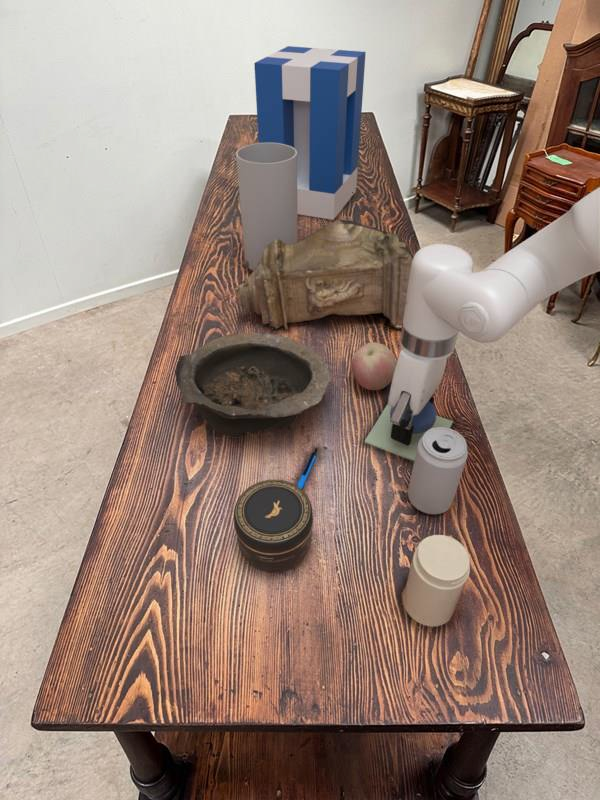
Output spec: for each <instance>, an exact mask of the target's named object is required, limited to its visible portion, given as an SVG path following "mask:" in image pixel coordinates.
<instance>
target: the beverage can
mask: <svg viewBox="0 0 600 800" xmlns="http://www.w3.org/2000/svg"><path fill="white" fill-rule="evenodd" d="M468 456H469V451H468V443H467V441H466V439H465V437H464V436H463V435H462V434H461V433H459V432H458V431H457V430H454V429H452V428H451V427H450V428H445V427H436V428H432V429H430V430H428V431H427V432H425V434H424V435H423V437H422V438H421V439H420V440H419V443H418V447H417V452H416V456H415V461H413V466H412V469H411V470H412V471H411V474H410V478H409V483H408V488H407V497H408V500H409V502H410V503H411V505H412V506H413V507H414V508H415V509H416V510H418V511H420V512H422V513H425V514H428V515H441V514H444V513H445V512H447V511H448V510H449V509H451V507H452V505H453V502H454V501H455V496H456V494H457V491H458V487H459V484H460V482H461V478H462V474H463V472H464V469H465V466H466V462H467V459H468Z"/></svg>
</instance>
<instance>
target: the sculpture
mask: <svg viewBox="0 0 600 800" xmlns="http://www.w3.org/2000/svg"><path fill="white" fill-rule="evenodd" d="M413 257H414V254H413V253H412V251H411V250H410V248H409V247H408V244H407V243H406V242H405V241H404V240H403V239H402V237H401V236H400V234H398V233H395V232H387V231H385V230H381V229H378V228H375V227H372V226H368V225H365V224H362V223H360V222H357V221H354V220H347V219H337V220H335V221H333V222H331V223H329V224H326V225H325V226H323V227H321V228H320V229H318V230H316V231H315V232H313V233H311V234H310V235H308V236H307V237H305V238H303V239H300V240H299V241H298V242H297V243H294V244H291V245H286V246H285V243H284V242H283V241H281V240H280V239H276V240H274V241H273V242H272V243H271V244H269V245H268V246H267V247H266V248H265V250H264V252H263V254H262V256H261V260H260V261H259V263H258V265H257V267H256V268H255V269H254V271H252V272H251V273H250V274H249V275H248V277H247V278H245V279H244V280H242V281H241V282H240V283H239V284H238V285H237V286H236V287H235V291H236V296H237V302H238V305H239V307H241V308H243V309H245V310H247V311H248V312H249V313H254V312H255V314H256V315H258V316H261V319H262V320H261V322H262V324H264V325H267V324H268V325H269V326H270V327H271V329H272V330H273V329H274V328H275V329H276V330H278V329H280V328H281V327H282V326H283V328H284V330H286V331H287V330H288V329H289V327H288V324H290V323H291V324H294V323H302V322H305V321H312V320H318V319H323V318H324V317H327V316H330V315H338V316H366V315H372V314H375V315H376V314H383V316H384V317H386V318H387V319H388V320H390V322H389V326H390V327H392V328H394V329H395V330H402V323H403V317H404V310H405V303H406V296H407V290H408V283H409V276H410V270H411V264H412V260H413ZM241 264H242V266H243V267H244V268H245V269H249V268H248V267H249V262H248V261H247V260H245V259H243V260H242V262H241Z"/></svg>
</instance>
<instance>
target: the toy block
mask: <svg viewBox="0 0 600 800" xmlns="http://www.w3.org/2000/svg"><path fill="white" fill-rule="evenodd" d="M366 54H367V53H366V51H359V50H347V49H346V50H345V49H332V48H318V47H304V46H291V45H287V46H285V47H284V48H281V49H279V50H277V51H276V52H274V53H271V54H269V55H267V56H265V57H263V58H262V59H259V60H257V61H256V62H254V64H253V65H254V81H255V99H256V100H255V101H256V119H257V137H258V138H257V141H258V143H280V144H285V145H289V146H291V147H293V148H295V149H296V151H297V215H300V216H301V215H302V216H307V217H313V218H318V219H325V220H332V221H334V220H335V219H336V217H337V216H338V215H339V214H340V212H342V210H343V209H344V207H345V206H346V205H347V203H348V202H349V201H350V200H351V198H352V197H353V196H354V194H355V193H356V192H357V183H358V173H359V171H358V170H359V155H360V140H361V125H362V111H363V99H364V98H363V95H364V83H365V81H364V80H365V66H366ZM355 188H356V189H355ZM352 192H353V193H352Z"/></svg>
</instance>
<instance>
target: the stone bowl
mask: <svg viewBox="0 0 600 800" xmlns="http://www.w3.org/2000/svg"><path fill="white" fill-rule="evenodd" d="M174 373H175V374H174V375H175V381H176V385H177V387H178V389H179V390H180V392H181V393H182V394H181V395H180V398H179V401H180V402H181V403H183V404H187V405H193V406H197V409H198V411H199V413H200V415H201V417H202V418H203V419H204V421H205V422H206V423H207V424H208V425H209V427H210V428H212V430H213V431H214V432H216V433H217V434H222V435H223V436H224V437H228V438H230V439H231V438H232V439H239V438H241V437H242V436H244V435H245V434H246V433H249V434H252V435H257V434H258V433H264V432H266V431H269V430H272V429H275V430H278V431H281V430H284V429H286V428H289V426H290V425H291V424H292V423H294V422H295V420H296V419H297V418H298V416H299V415H300V414H302V413H303V412H304V411H305V410H308V409H310V408H311V407H313V406H315V405H318V404H319V403H320V402H321V401H322V398H323V397H324V395H325V393H326V387H328V385H329V383H330V381H331V376H330V370H329V365H328V362H327V361H326V360H324V359H323V358H321V355H318V354H317V352H315V351H314V350H312V349H311V348H310V347H309V346H306V345H304V344H303V343H301V342H299V341H297V340H295V339H293V338H291V337H288V336H276V335H274V334H272V333H271V334H269V333H263V332H251V333H243V334H227V335H224V336H219V337H216V338H214V339H211V340H209V341H207V342H206V343H204V344H203V345H202V346H200V347H198V348H196V349H195V350H194V351H192V352H191V354H185V355H180V356H179V359H178V361H177V363H176V367H175V370H174Z"/></svg>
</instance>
